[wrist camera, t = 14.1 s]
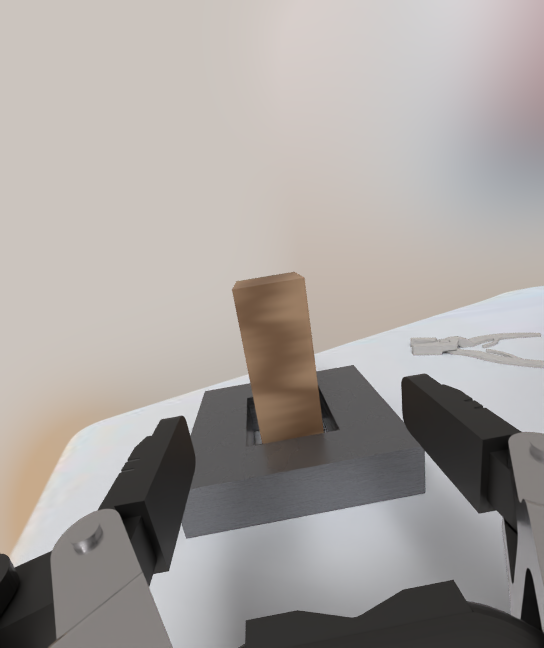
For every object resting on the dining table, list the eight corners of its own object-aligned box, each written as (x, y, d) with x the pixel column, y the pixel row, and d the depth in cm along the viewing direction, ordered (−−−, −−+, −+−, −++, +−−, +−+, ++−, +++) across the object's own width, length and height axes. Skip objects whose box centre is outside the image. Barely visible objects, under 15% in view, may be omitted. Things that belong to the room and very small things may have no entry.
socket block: (356, 396, 29) (353, 365, 28) (425, 492, 18) (424, 445, 17) (212, 421, 29) (205, 391, 28) (186, 538, 17) (171, 492, 16)
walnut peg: (315, 427, 25) (294, 271, 22) (327, 464, 21) (304, 277, 17) (265, 435, 25) (236, 281, 22) (268, 474, 21) (232, 289, 17)
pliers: (588, 357, 27) (414, 356, 33) (586, 372, 28) (414, 369, 33) (539, 325, 36) (408, 329, 42) (538, 337, 36) (408, 339, 42)
